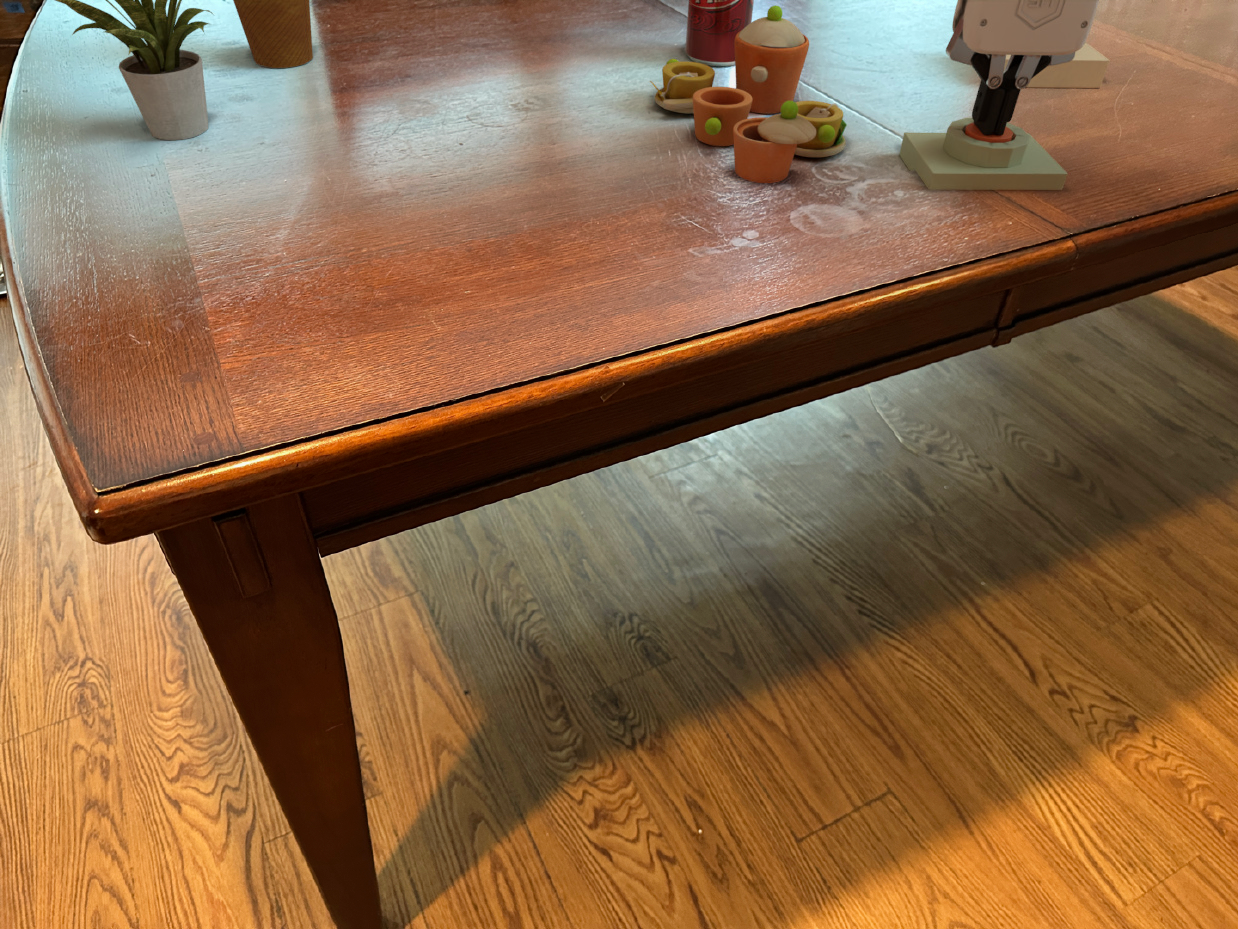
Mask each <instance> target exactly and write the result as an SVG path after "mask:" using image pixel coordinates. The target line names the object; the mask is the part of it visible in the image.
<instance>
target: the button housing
mask: <svg viewBox="0 0 1238 929" xmlns="http://www.w3.org/2000/svg"><path fill="white" fill-rule="evenodd" d="M973 122H974V120H973V119H972V117H965V118H961V119H956V120H953V121H951V123H950V124H949V125H948V127H947V129H946V132H904V133H903V137H902V140H901V145H900V149H899V154H898V155H899V157H900V158H901V160H902V162H903V163H904V164H905V166H906V168H907V169H908V170H909V171H912V172H913V171H915V172H916V173H917V175H918V177H920V179H921V181H922V182H923V184H924V185H925V186H926V188H927V190H931V191H934V190H935V191H936V190H940V191H942V190H943V191H946V190H953V191H954V190H956V191H959V190H961V191H962V190H963V191H964V190H967V191H969V190H970V191H971V190H973V191H976V190H979V191H984V190H985V191H986V190H987V191H989V190H990V191H999V190H1000V191H1030V190H1031V191H1062V190H1064V189H1063V188H1064V186H1065V183H1066V180H1067V177H1068V172H1067V171H1066V170H1065V169H1064V168H1063V167H1062V166H1061V165H1060V164H1059V163H1058V161H1056V159H1055V158H1054V157H1052V155H1050V153H1049V152H1048V151H1047V150H1046V149H1045V148H1044V147H1043V146H1042V145H1041V144H1040V143H1039V142H1038V141H1037V140H1036V139H1035V138H1034V137H1033V136H1032V134H1030V133H1029V132H1028V133H1027V132H1026V131H1025V130H1024V129H1023V128H1022V127H1019V126H1017V125H1015V124H1012V123H1010V122H1007V124H1006V127H1008V128H1009V129H1011V130H1012V132H1013V135H1012V139H1011V141H1009V142H1006V143H990V142H985V141H980V140H976V139H973V138H971V137H969V136H967V135H965V130H966V126H967V125H968V124H970V123H973Z"/></svg>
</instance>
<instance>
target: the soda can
mask: <svg viewBox="0 0 1238 929" xmlns="http://www.w3.org/2000/svg"><path fill="white" fill-rule="evenodd" d="M754 2H755V0H688V3H687V4H688V5H687V6H688V7H687V20H686V33H685V34H686V35H685V48H684V50H685V54H686V55H687V58H689V59H690V60H691V62H696V63H701V64H705V65H707V66H709V67H732V66H735V45H734V41H735V36H736V35H737V33H738V32H740V31H742V30H743V29H744V28H745V27H746V26H747V25H749V24H750V23H752V22H753V14H754V12H753V11H754Z"/></svg>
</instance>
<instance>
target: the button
mask: <svg viewBox="0 0 1238 929" xmlns="http://www.w3.org/2000/svg"><path fill="white" fill-rule="evenodd" d="M965 135H967V136H969V137H971V138H973V139H976V140H980V141H985V142H990V143H1006V142H1009V141H1011V139H1012V135H1013V132H1012V130H1011V129H1009V128H1008V127H1005V131H1004V134H1003V135H995V134H994V133H993V134H991V135H983V134H982V133H981V131H980V130H979V129H978V128H977V127H976V126H975V124H974V122H973V123H970V124H968V125H967V126H966V130H965Z"/></svg>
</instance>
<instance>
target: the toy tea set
mask: <svg viewBox="0 0 1238 929" xmlns="http://www.w3.org/2000/svg"><path fill="white" fill-rule="evenodd" d="M734 45H735V65H734V67H735V69H734V70H735V87H729V86H714V85H713V84H714V82H715V81H714V80H715V76H716V72H715V70H714V68H712V66H708V65H705V64H701V63H696V62H694V61H685V60H684V61H679V60H678V59H676V58H670V59H668V60H667V61H666V63H665V65H664V66H662V70H661V71H662V84H663V85H662V86H663V87H662V88H660V89H659V88H658V87H657V85H655V83H654V82H653V81H652V80H649V82H650V83H651V84H652V86H653V87H654V89H656V90H657V91H656V92H655V94H654V101H655V103H656V104H657V105H658V106H660V107H661V108H663V109H664V110H668V111H671V112H674V113H677V114H692V115H693V122H694V123H693V124H694V134H695V138H696V139H697V140H698V141H699V142H701V143H703V144H705V145H707V146H708V145H709V146H713V147H729V146H733V156H734V172H735V174H736V175H737V176H738V177H739V178H741V179H743V180H746V181H748V182H752V183H757V184H775V183H778V182H781V181H784V180H785V179H786V178H788V175H789V172H790V169H791V166H792V163H793V159H794V156H800V157H806V158H825V157H827V158H828V157H831V156H834V155H837V154H840V153H841V152H842V151H843V150H844V149H845V148H846V143H847V140H846V138H845V136H844V135H843V134H844V132H845V129H846V128H847V126H848V124H847V123H846V122H845V120H844V119H843V118H844V111H843V110H842V109H841V108H840V107H839V105H838V104H837V103H835V102H834V103H828V102H824V101H818V100H799V101H794V100H795V96H796V92H797V89H798V85H799V82H800V80H801V79H800V78H801V75H802V71H803V68H804V65H805V62H806V60H807V59H806V58H807V55H808V53H809V48H810V40H809V39H808V37H807V36H806V35H805V34H803V33H802V31H801V30H800V29H799V28H798V27H797V26H796V24H795V23H793V22H792V21H790V20H788V19H786V18H783V9H782V7H781V6H779V5H772V6H770V7H769V8H768V10H767V14H766V16H762V17H760V18H757V19H755V20H752V22H751V23H750V24H749V25H747V26H746V27H745V28H744V29H743V30H742V31H740V32H738V33H737V35H736V36H735V41H734ZM750 112H751V113H756V114H763V115H764V114H766V115H770V116H768V117H767V116H764V117H763V116H759V117H758V116H756V117H751V118H749V115H750Z"/></svg>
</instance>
